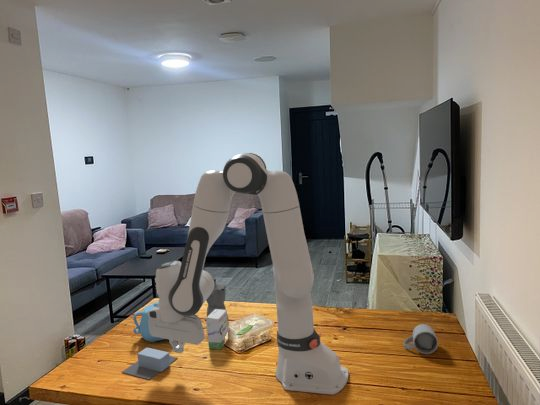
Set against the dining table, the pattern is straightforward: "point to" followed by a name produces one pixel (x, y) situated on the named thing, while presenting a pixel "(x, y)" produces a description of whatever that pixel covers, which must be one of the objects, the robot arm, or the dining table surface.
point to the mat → (143, 370)
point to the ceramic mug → (422, 339)
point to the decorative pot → (145, 324)
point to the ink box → (217, 328)
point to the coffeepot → (216, 298)
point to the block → (154, 359)
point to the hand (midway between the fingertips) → (178, 351)
